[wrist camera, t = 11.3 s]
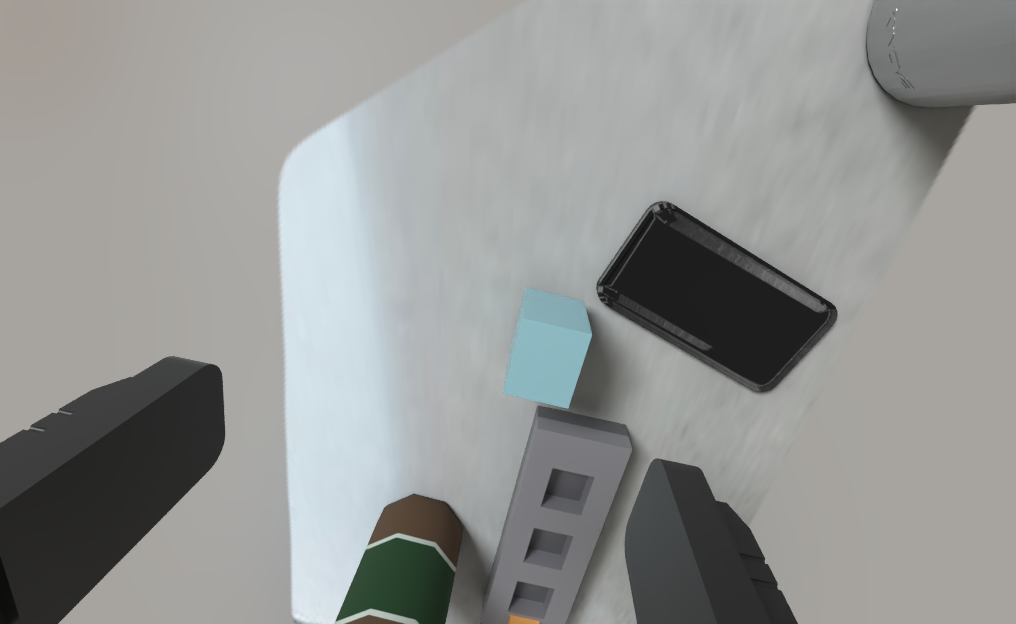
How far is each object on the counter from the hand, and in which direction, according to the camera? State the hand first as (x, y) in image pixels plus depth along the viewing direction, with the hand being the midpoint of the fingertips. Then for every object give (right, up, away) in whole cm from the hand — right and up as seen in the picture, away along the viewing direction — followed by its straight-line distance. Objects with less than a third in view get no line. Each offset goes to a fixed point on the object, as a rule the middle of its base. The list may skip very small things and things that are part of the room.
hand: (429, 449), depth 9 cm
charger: (+4, +2, +25) cm, 25 cm away
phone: (+16, +4, +24) cm, 29 cm away
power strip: (+5, -15, +32) cm, 35 cm away
